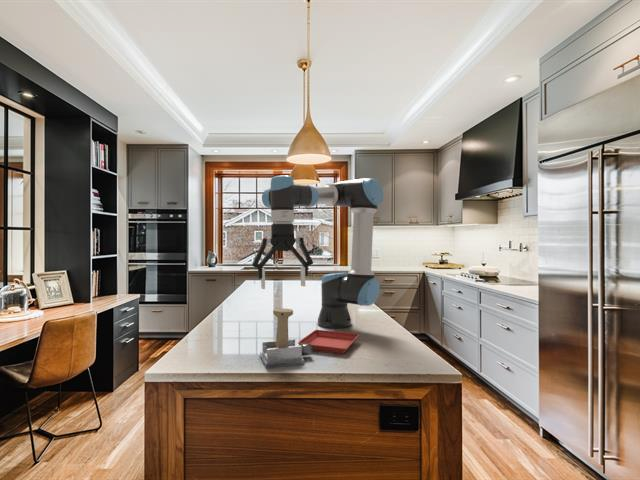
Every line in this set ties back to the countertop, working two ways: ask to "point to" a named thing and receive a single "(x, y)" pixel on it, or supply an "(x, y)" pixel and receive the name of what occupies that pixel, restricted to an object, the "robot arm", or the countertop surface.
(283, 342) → the handle
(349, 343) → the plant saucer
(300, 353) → the valve body
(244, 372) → the countertop surface
